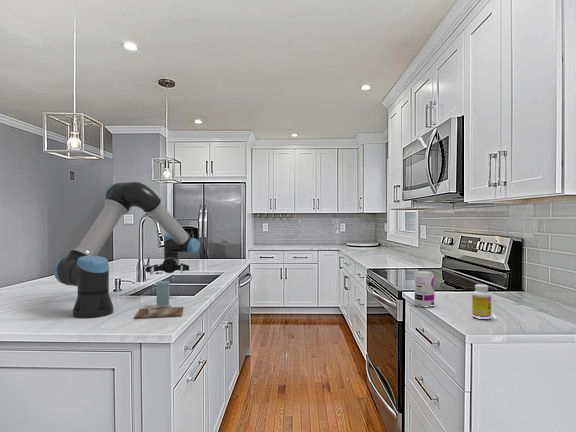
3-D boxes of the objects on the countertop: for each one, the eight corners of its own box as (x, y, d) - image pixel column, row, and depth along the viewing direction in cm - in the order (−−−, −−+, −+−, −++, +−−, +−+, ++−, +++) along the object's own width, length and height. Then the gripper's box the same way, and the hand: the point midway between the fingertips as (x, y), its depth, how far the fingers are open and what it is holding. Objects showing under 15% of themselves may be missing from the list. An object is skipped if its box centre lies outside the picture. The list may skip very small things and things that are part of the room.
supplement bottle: (490, 321, 154) (490, 287, 154) (471, 318, 157) (471, 285, 157) (491, 317, 160) (491, 284, 160) (473, 315, 163) (473, 283, 163)
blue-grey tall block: (156, 308, 177) (156, 283, 177) (157, 305, 182) (157, 281, 182) (168, 307, 178) (168, 282, 178) (169, 305, 183) (169, 280, 183)
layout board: (134, 319, 159) (134, 313, 159) (139, 310, 172) (139, 305, 172) (181, 316, 162) (181, 310, 162) (183, 308, 176) (183, 303, 176)
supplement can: (435, 304, 182) (434, 271, 182) (433, 308, 175) (433, 273, 175) (416, 303, 186) (416, 270, 186) (413, 306, 178) (413, 272, 178)
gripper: (194, 271, 214) (193, 277, 194) (145, 273, 209) (138, 280, 189) (194, 257, 214) (193, 262, 194) (144, 258, 209) (138, 264, 188)
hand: (166, 271), depth 191 cm, fingers open, 13 cm apart
